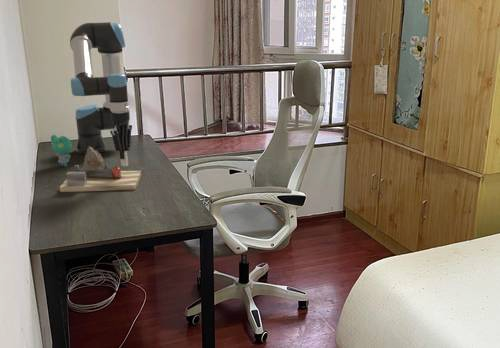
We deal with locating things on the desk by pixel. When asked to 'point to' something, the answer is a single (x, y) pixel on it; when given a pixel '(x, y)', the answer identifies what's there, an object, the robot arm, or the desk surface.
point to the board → (99, 181)
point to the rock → (93, 159)
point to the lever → (103, 173)
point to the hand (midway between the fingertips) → (124, 165)
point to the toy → (61, 148)
